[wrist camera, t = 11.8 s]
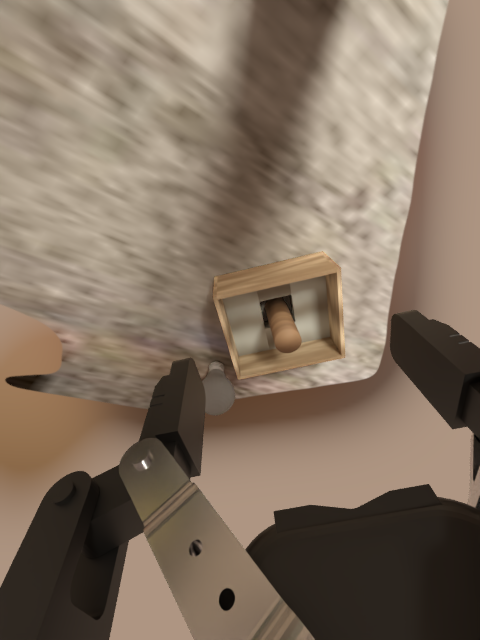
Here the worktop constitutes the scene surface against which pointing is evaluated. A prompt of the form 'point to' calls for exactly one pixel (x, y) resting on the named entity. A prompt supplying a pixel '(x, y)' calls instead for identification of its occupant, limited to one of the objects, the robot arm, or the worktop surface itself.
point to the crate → (307, 308)
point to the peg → (282, 326)
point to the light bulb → (217, 390)
